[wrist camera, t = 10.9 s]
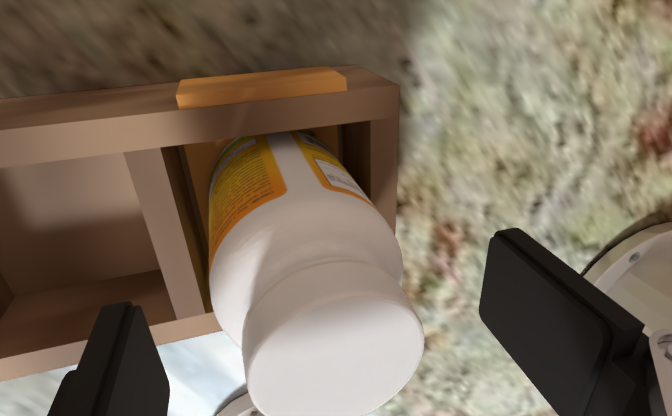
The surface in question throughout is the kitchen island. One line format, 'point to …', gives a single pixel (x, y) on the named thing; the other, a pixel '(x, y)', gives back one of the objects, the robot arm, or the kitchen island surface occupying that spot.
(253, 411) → the mechanical component
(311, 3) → the kitchen island surface
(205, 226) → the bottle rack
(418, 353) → the supplement bottle
